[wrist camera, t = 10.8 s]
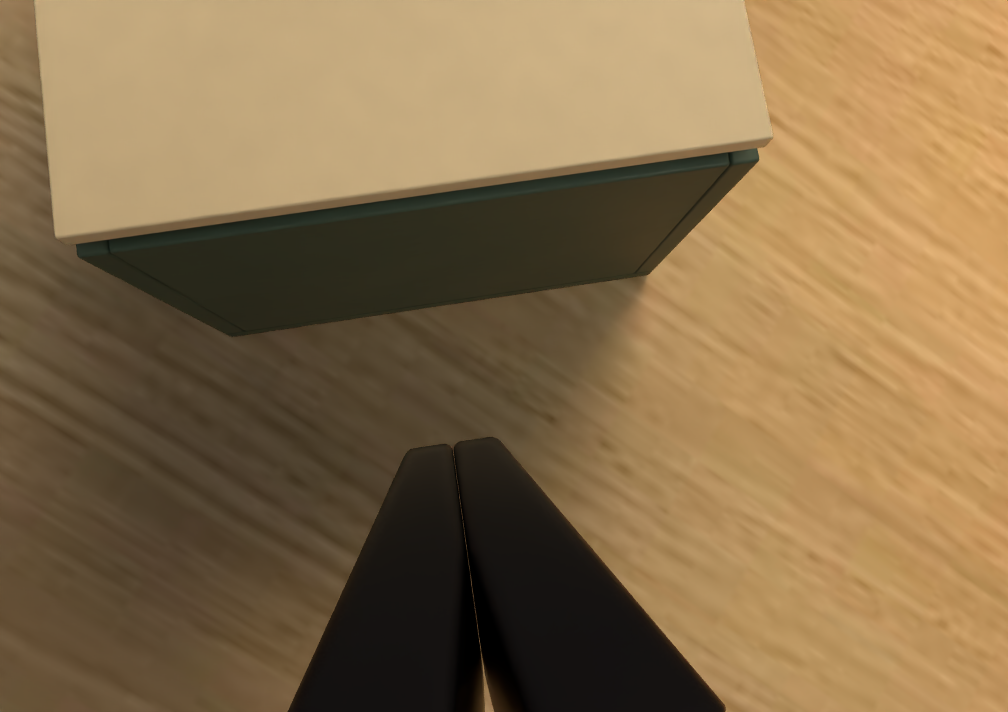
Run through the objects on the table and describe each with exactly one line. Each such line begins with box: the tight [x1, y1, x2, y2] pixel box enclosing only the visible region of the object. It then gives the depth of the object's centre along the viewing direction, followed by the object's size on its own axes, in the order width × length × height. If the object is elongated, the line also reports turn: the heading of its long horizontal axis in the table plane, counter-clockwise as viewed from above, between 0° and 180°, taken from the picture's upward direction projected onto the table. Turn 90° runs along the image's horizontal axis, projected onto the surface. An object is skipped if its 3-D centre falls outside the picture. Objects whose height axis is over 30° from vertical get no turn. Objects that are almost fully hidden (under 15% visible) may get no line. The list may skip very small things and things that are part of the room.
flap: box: [34, 0, 773, 245], centre depth 13 cm, size 6×11×1 cm, turn 99°
